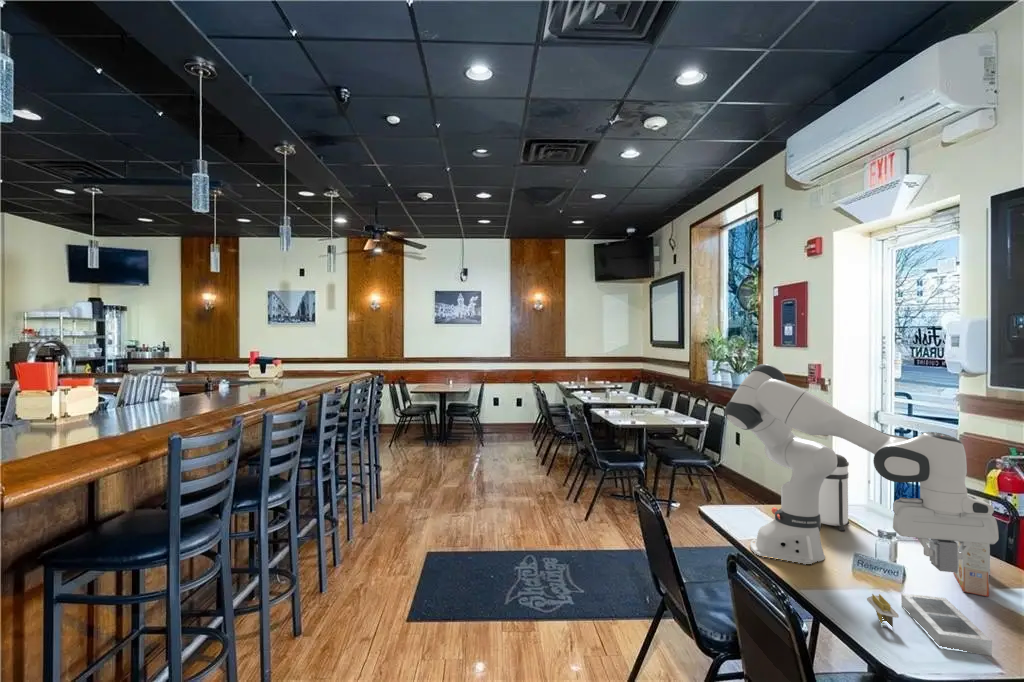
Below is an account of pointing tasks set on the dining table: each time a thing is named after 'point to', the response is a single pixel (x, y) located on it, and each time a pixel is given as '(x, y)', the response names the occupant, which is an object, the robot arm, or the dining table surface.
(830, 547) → the dining table surface
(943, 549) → the grey rectangular block
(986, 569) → the cracker box
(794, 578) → the dining table surface
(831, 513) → the coffee press
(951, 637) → the grey rectangular tray
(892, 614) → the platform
